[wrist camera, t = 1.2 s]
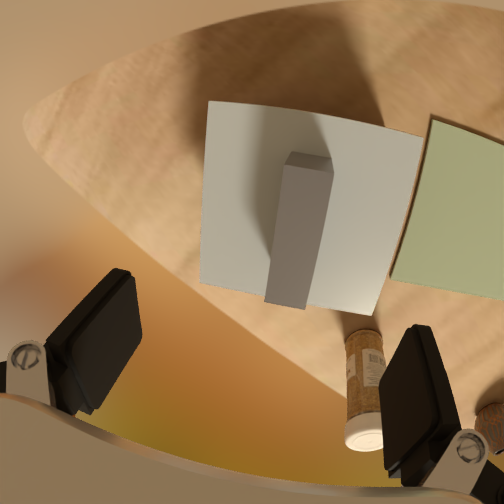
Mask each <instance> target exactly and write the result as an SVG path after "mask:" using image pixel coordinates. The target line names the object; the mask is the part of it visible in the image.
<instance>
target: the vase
mask: <svg viewBox="0 0 504 504" xmlns="http://www.w3.org/2000/svg"><path fill="white" fill-rule="evenodd" d="M475 431H477V432H479V433H480V434H481V435H482V436H483V437H484V438H485V440H486V441H487V444H488V447H489V451H490V452H491V453H492V454H493V455H494V456H497V455H500V454H502V453H504V405H502V404H499V403H493V404H490V405H488V406H486V407H485V408H483V409H482V410H481V411H480V413H479V414H478V416H477V418H476V421H475Z"/></svg>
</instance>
